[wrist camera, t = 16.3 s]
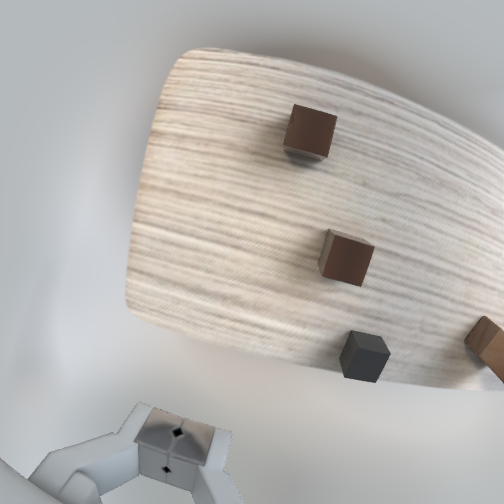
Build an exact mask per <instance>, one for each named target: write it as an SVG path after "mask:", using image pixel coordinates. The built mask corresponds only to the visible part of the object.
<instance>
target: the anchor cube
mask: <svg viewBox="0 0 504 504" xmlns="http://www.w3.org/2000/svg"><path fill="white" fill-rule="evenodd" d="M390 354H391V353H390V351H389V350H388V348H387V346H386V344H385V343H384V341H383V339H382V337H380V336H375V335H371V334H366V333H362V332H357V331H353V330H351V333H350V335H349V337H348V340H347V342H346V344H345V347H344V349H343V351H342V353H341V356H340V358H339V360H340V363H341V367H342V371H343V375H344V377H345V378H349V379H356V380H361V381H367V382H373V383H376V381H377V380H378V378H379V376H380V374H381V372H382V370H383V368H384V366H385V364H386V362H387V360H388V358H389V356H390Z"/></svg>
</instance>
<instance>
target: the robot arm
mask: <svg viewBox="0 0 504 504" xmlns="http://www.w3.org/2000/svg"><path fill="white" fill-rule="evenodd" d="M215 428H216V429H215ZM231 437H232V431H228V430H225V429H221V428H217V427H214V426H210V425H207V424H203V423H200V422H196V421H193V420H190V419H187V418H182V417H179V416H177V415H174V414H171V413H169V412H166V411H163V410H161V409H158V408H156V407H153V406H150V405H148V404H145V403H143V402H138V403H137V404H136V405H135V407H134V408H133V410H132V411H131V413H130V414H129V416H128V417H127V419H126V420H125V422H124V423H123V425H122V427H121V428H120V429H119V431H118V432H117V434H115V433H113V432H112V433H109V434H106V435H103V436H100V437H97V438H94V439H91V440H88V441H85V442H82V443H79V444H76V445H73V446H69V447H66V448H63V449H59V450H56V451H52V452H49V454H48V455H47V456H46V457H45V459H44V460H43V461H42V462H41V463H40V465H39V466H38V467H37V468H36V469H35V471H34V472H33V473H32V474H31V476H30V477H29V478H28V479H26V478H24V477H23V476H22V475H20V474H19V473H18V472H17V471H16V470H14V469H13V468H12V467H11V466H9V465H8V464H7V463H6V462H4V461H3V460H2V459H1V458H0V504H102V501H101V499H100V496H101V495H103V494H105V493H107V492H109V491H111V490H113V489H115V488H117V487H119V486H121V485H122V484H124V483H126V482H128V481H130V480H132V479H134V478H135V477H137V476H139V474H141V475H144V476H146V477H149V478H152V479H155V480H158V481H161V482H164V483H166V484H170V485H172V486H175V487H178V488H181V489H184V490H187V491H190V492H191V494H192V497H193V499H194V502H195V504H245V503H244V501H243V499H242V498H241V496H240V494H239V492H238V490H237V488H236V486H235V485H234V483H233V481H232V479H231V477H230V475H229V473H227V472H224V467H225V462H226V459H227V454H228V450H229V446H230V442H231Z"/></svg>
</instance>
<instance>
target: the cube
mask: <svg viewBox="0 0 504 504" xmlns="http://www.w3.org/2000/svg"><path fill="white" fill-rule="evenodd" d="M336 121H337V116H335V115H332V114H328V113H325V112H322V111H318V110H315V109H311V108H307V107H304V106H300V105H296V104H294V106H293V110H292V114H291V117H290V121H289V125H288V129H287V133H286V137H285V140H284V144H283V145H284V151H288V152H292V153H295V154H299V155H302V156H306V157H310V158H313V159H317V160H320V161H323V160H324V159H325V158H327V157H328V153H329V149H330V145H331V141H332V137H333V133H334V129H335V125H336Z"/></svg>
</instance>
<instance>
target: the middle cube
mask: <svg viewBox="0 0 504 504" xmlns="http://www.w3.org/2000/svg"><path fill="white" fill-rule="evenodd" d="M374 248H375V247H374V246H373V245H371V244H370V243H369V242H367V241H366V240H364V239H362V238H358V237H355V236H352V235H349V234H346V233H342V232H339V231H336V230H332V229H329V230H328V234H327V237H326V240H325V243H324V247H323V250H322V253H321V256H320V259H319V263H318V267H319V269H320V272H321V275H322V276H324V277H327V278H331V279H334V280H338V281H341V282H345V283H349V284H352V285H356V286H359V287H361V285H362V283H363V280H364V277H365V274H366V272H367V269H368V266H369V263H370V260H371V257H372V254H373V251H374Z"/></svg>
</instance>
